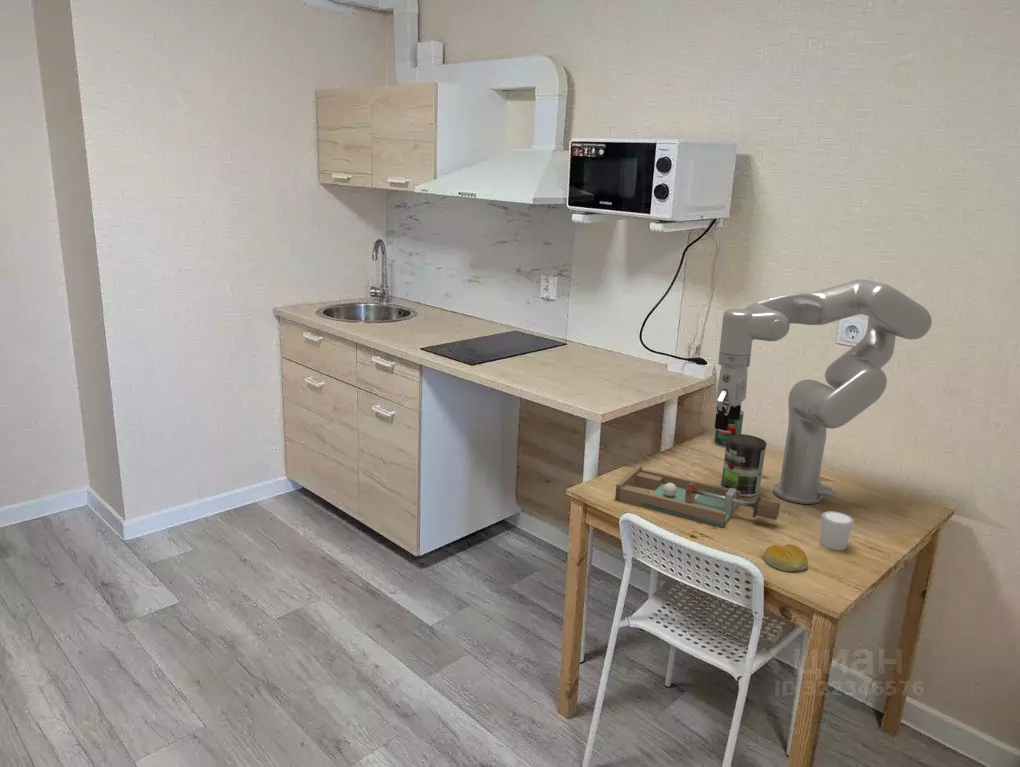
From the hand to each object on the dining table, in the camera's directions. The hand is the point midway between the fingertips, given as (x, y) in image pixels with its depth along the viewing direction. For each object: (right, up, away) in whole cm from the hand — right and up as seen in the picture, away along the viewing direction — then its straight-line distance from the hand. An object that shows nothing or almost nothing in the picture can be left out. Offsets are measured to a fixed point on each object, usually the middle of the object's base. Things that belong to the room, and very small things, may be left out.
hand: (727, 424), depth 189 cm
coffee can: (+7, -19, +13) cm, 24 cm away
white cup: (+20, -27, -16) cm, 38 cm away
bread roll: (+6, -30, -25) cm, 39 cm away
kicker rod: (0, -21, -4) cm, 21 cm away
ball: (-14, -17, +4) cm, 22 cm away
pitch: (-12, -20, +3) cm, 24 cm away
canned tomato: (+14, -9, +47) cm, 50 cm away
